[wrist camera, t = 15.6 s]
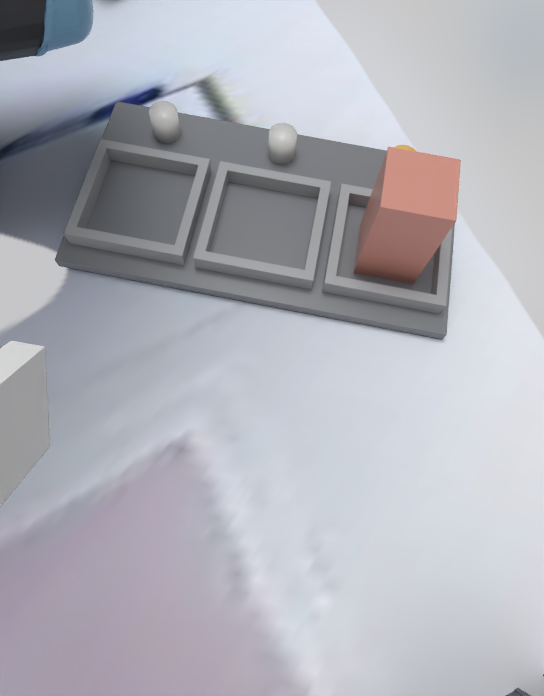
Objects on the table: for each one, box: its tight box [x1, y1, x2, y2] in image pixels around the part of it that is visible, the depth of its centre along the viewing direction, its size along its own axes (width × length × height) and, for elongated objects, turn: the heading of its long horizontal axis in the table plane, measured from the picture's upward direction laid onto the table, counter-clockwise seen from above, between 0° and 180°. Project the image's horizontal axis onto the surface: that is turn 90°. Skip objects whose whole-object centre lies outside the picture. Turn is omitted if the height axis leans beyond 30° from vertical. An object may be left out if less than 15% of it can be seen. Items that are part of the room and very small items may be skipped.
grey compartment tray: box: [55, 101, 455, 339], centre depth 42 cm, size 32×17×3 cm, turn 79°
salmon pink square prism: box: [353, 147, 461, 284], centre depth 37 cm, size 5×5×9 cm
